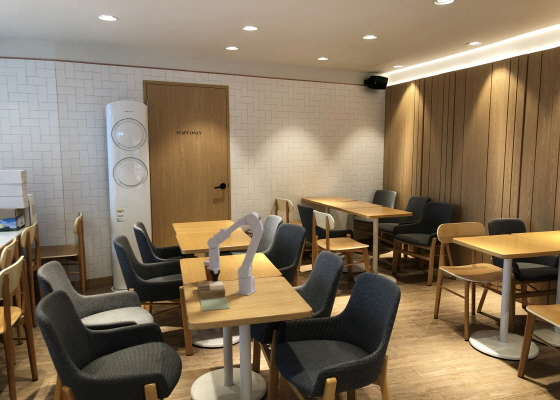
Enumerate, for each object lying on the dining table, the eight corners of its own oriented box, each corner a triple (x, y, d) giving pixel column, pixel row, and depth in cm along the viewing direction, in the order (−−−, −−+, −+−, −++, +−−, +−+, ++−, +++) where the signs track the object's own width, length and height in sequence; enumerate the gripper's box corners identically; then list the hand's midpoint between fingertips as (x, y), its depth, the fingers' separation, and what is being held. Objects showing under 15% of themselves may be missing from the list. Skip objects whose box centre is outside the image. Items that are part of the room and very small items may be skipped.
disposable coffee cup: (201, 282, 253) (200, 262, 252) (208, 277, 262) (207, 258, 261) (215, 283, 250) (215, 263, 249) (222, 278, 259) (222, 259, 258)
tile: (209, 286, 231) (208, 282, 231) (222, 285, 233) (221, 281, 232) (210, 290, 224) (210, 285, 224) (223, 289, 226) (223, 284, 226)
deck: (197, 288, 240) (197, 281, 240) (220, 286, 243) (220, 280, 243) (200, 300, 221) (199, 292, 221) (225, 297, 225) (225, 290, 224)
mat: (200, 299, 222) (200, 299, 222) (225, 297, 225) (225, 296, 225) (202, 311, 205) (202, 310, 205) (229, 308, 209) (229, 307, 209)
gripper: (205, 256, 239) (206, 280, 240) (208, 262, 225) (208, 287, 226) (218, 255, 240) (219, 279, 242) (221, 261, 226) (222, 286, 228)
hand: (215, 283), depth 234 cm, fingers closed
